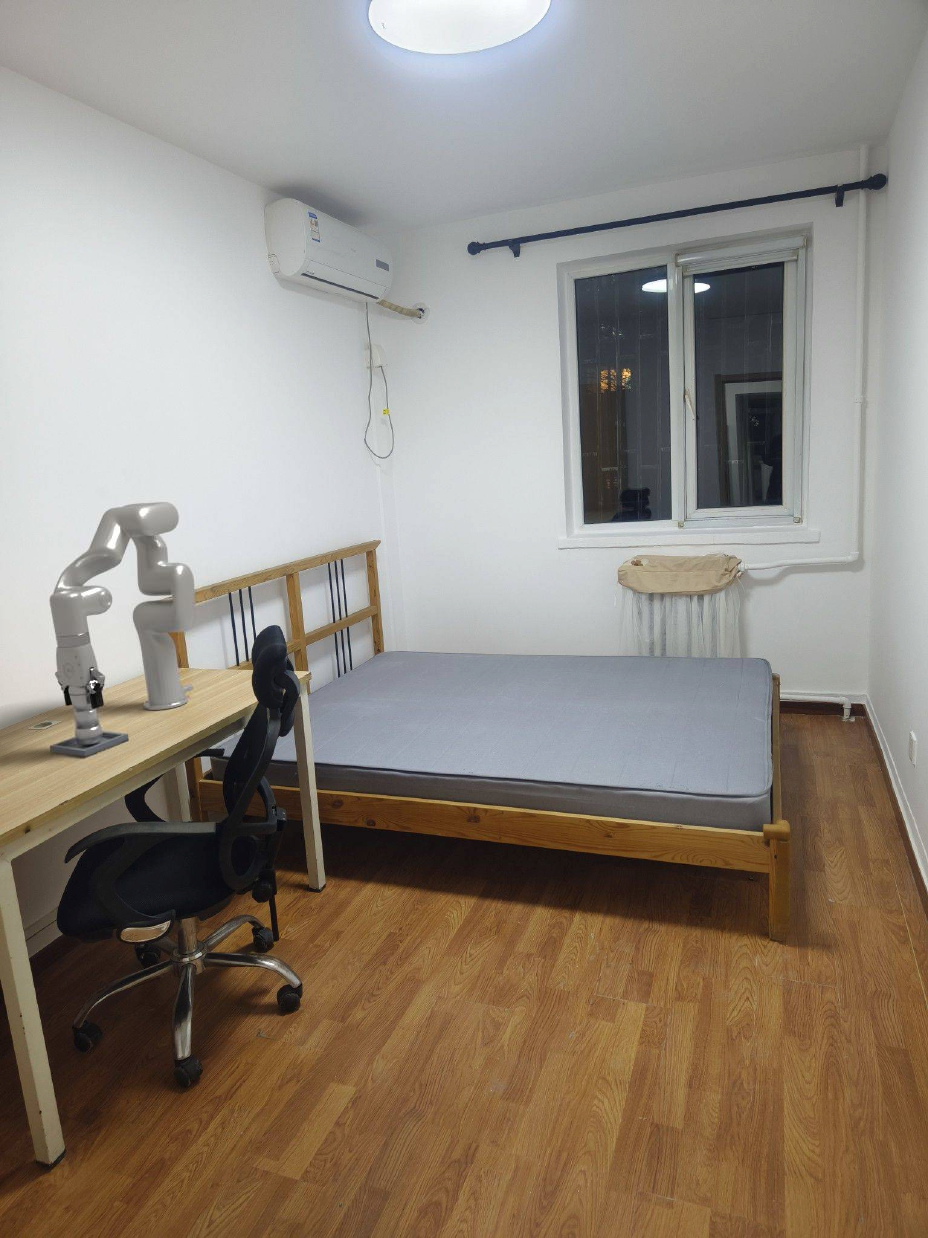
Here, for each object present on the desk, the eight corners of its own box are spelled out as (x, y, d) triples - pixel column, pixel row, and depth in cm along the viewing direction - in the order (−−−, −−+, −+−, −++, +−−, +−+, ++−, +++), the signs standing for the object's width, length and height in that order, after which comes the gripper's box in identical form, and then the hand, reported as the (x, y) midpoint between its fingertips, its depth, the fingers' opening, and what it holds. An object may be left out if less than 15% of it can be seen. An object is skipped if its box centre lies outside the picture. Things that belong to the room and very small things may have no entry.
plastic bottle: (73, 749, 198) (61, 672, 195) (80, 741, 205) (68, 666, 201) (100, 746, 200) (89, 670, 196) (106, 738, 206) (95, 664, 203)
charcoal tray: (94, 736, 210) (93, 729, 210) (128, 740, 205) (127, 734, 204) (50, 752, 199) (49, 746, 199) (85, 758, 193) (84, 751, 193)
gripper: (37, 642, 197) (49, 707, 201) (84, 645, 190) (95, 713, 193) (63, 635, 204) (74, 699, 207) (110, 638, 196) (120, 704, 200)
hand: (84, 705), depth 200 cm, fingers open, 9 cm apart
